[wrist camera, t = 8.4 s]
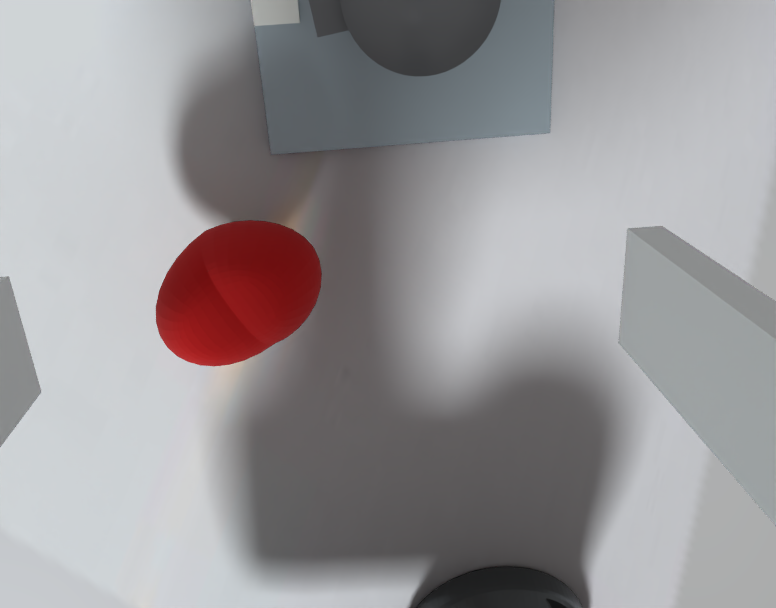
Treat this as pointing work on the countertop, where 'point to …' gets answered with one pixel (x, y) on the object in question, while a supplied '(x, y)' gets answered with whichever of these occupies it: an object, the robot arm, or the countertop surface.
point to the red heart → (237, 292)
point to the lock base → (400, 84)
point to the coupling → (410, 30)
